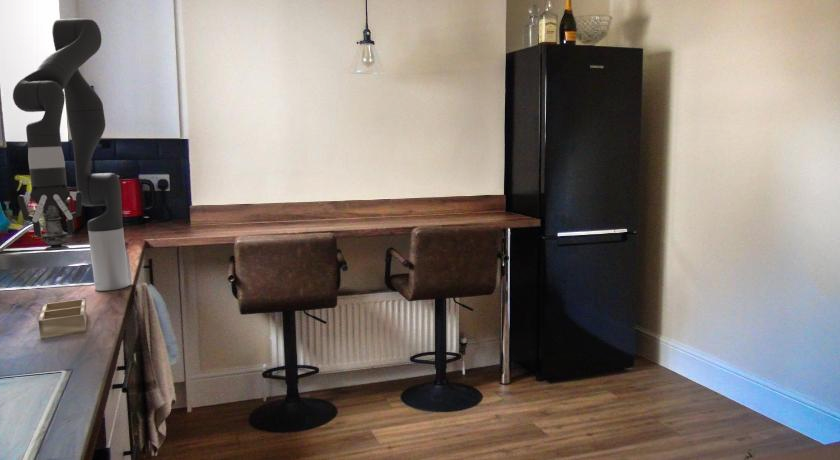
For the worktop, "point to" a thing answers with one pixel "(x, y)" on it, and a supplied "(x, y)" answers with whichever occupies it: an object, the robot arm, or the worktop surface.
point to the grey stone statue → (54, 230)
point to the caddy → (63, 318)
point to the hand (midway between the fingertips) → (55, 235)
